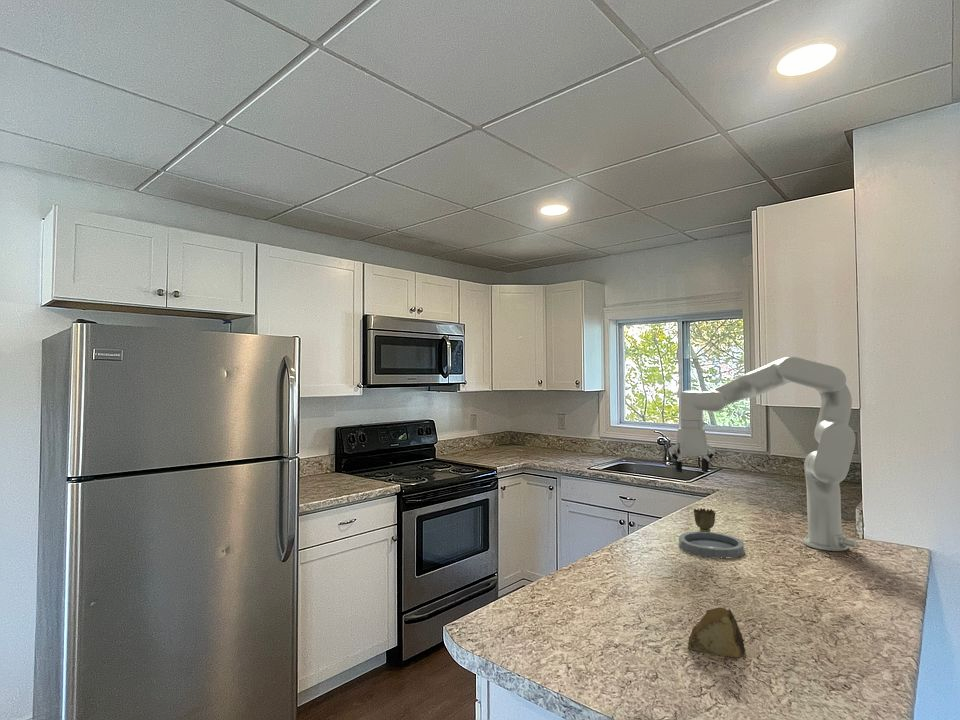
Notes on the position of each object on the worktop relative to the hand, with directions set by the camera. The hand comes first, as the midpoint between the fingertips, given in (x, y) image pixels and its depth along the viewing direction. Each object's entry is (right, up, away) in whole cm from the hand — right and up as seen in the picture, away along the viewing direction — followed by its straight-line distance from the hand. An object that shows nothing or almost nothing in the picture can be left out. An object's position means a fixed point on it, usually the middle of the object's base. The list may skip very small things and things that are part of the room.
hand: (692, 471), depth 190 cm
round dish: (0, -22, -16) cm, 27 cm away
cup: (+5, -23, +2) cm, 23 cm away
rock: (-28, -20, -81) cm, 88 cm away
